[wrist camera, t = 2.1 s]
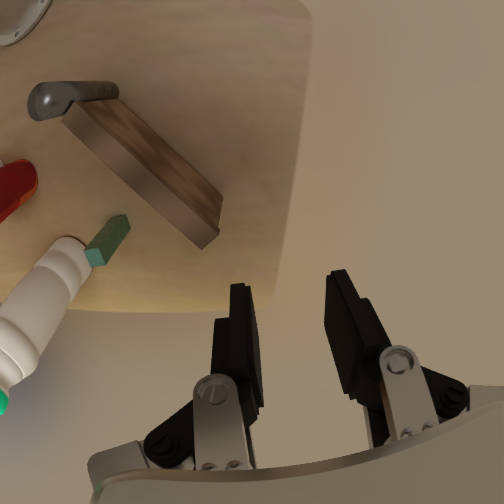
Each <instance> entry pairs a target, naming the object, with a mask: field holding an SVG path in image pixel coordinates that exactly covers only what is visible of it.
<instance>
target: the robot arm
mask: <svg viewBox="0 0 504 504" xmlns="http://www.w3.org/2000/svg"><path fill="white" fill-rule="evenodd" d="M50 3H51V0H0V46H8V45H12V44H14V43H16V42H18V41H19V40H21V39H22V38H23V37H24V36H26V35H27V34H28V33H29V32H30V31H31V30H32V29H33V28H34V27H35V25H36V24H37V23H38V21H39V20H40V19H41V17H42V16H43V14H44V13H45V12H46V10H47V8H48V6H49V4H50ZM324 327H325V331H326V334H327V337H328V341H329V344H330V347H331V351H332V354H333V358H334V361H335V364H336V368H337V371H338V375H339V378H340V382H341V385H342V389H343V392H344V394H349V398H350V400H353V399H357V402H358V403H359V404H361V405H363V411H364V417H365V423H366V429H367V436H368V442H369V450H366V451H362V452H359V453H355V454H351V455H347V456H342V457H338V458H333V459H328V460H323V461H318V462H312V463H306V464H300V465H293V466H285V467H276V468H266V469H258V468H257V462H256V457H255V451H254V446H253V439H252V434H251V428H250V426H251V425H252V424H253V423H254V422H255V421H256V420H257V415H259V407H264V401H263V388H262V376H261V362H260V348H259V336H258V329H257V323H256V317H255V311H254V305H253V299H252V293H251V287H250V286H245V283H238V284H231V286H230V313H229V317H228V318H220V319H219V318H218V319H215V323H214V334H213V347H212V359H211V373H210V375H208V376H205V377H204V378H202V379H201V380H199V381H198V382H197V384H196V385H195V387H194V391H193V400H191V401H190V402H189V403H188V404H187V405H185V406H184V407H183V408H181V409H180V410H179V411H178V412H176V413H175V414H174V415H172V416H171V417H170V418H169V419H167V420H166V421H164V422H163V423H162V424H160V425H159V426H158V427H156V428H155V429H154V430H153V431H151V432H150V433H149V434H148V435H147V436H146V438H145V440H142V441H139V442H138V441H137V440H135V441H132V442H130V443H127V444H124V445H121V446H118V447H114V448H112V449H108V450H105V451H102V452H98V453H96V454H94V455H92V456H91V457H90V459H89V461H88V464H87V466H88V473H89V476H90V480H91V483H92V487H93V490H94V491H93V494H92V497H91V501H90V504H504V386H483V385H470V386H469V387H466V386H465V385H464V384H463V383H461V382H460V381H458V380H455V379H452V378H450V377H448V376H445V375H442V374H440V373H437V372H435V371H432V370H430V369H427V368H425V367H422V366H420V363H419V361H418V358H417V356H416V355H415V353H414V352H413V351H412V350H411V349H409V348H407V347H405V346H401V345H396V346H392V344H391V342H390V340H389V338H388V336H387V334H386V332H385V330H384V328H383V326H382V324H381V322H380V320H379V318H378V316H377V314H376V312H375V310H374V308H373V306H372V304H371V302H370V301H369V299H367V298H362V299H360V297H359V295H358V293H357V291H356V289H355V287H354V285H353V283H352V281H351V280H350V277H349V275H348V274H347V272H346V270H345V269H343V270H336V271H331V275H327V277H326V299H325V316H324Z"/></svg>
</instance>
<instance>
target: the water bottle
mask: <svg viewBox="0 0 504 504" xmlns="http://www.w3.org/2000/svg"><path fill="white" fill-rule="evenodd" d="M84 249H85V246H84V245H83V244H82V243H81V242H79V241H78V240H76V239H74V238H71V237H61V238H59V239H58V240H56V241H55V242H54V243H53V244H52V245H51V247H50V248H49V249H48V251H47V252H46V253H45V254H44V255H43V256H42V257H41V258H40V259H39V260H38V261H37V262H36V263H35V265H34V266H33V268H32V270H31V271H30V272H28V273H27V274H26V275H25V276H24V277H23V278H22V280H21V281H20V282H19V283H18V284H17V285H16V287H15V288H14V289H13V290H12V291H11V293H10V294H9V295H8V297H7V298H6V299H5V301H4V302H3V304H2V305H1V307H0V415H2V414H3V413H4V412H5V410H6V407H7V405H8V398H9V393H8V391H9V389H10V387H11V386H13V385H15V384H17V383H19V382H20V381H21V380H22V379H23V378H25V377H27V376H28V375H30V374H31V373H32V372H34V370H35V369H36V367H37V365H38V360H39V357H40V355H41V354H42V352H43V351H44V349H45V348H46V346H47V344H48V343H49V341H50V339H51V337H52V336H53V334H54V332H55V330H56V328H57V327H58V325H59V323H60V321H61V319H62V317H63V315H64V314H65V311H66V309H67V307H68V305H69V304H70V303H71V302H72V301H73V299H74V298H75V297H76V295H77V293H78V291H79V289H80V287H81V286H82V285H83V284H84V282H85V281H86V280H87V278H88V277H89V275H90V273H91V271H92V267H90V265H89V263H88V261H87V258H86V256H85V254H84V251H83V250H84Z"/></svg>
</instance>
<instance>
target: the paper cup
mask: <svg viewBox="0 0 504 504" xmlns="http://www.w3.org/2000/svg"><path fill="white" fill-rule="evenodd" d="M37 183H38V179H37V173H36V170H35V168H34V166H33V165H32V164H31V163H30V162H29V161H27V160H24V159H22V160H18V161H15V162H12V163H9V164H7V165H4V166H2V167H0V223H1V222H2V221H4V220H5V219H6V218H7V217H8V216H9V215H10V214H11V213H12V212H14V211H15V210H16V209H17V208H18V207H19V206H21V205H22V204H23V203H24V202H25V201H26V200H28V199H29V198H30V197H31V196H32V195H33V194H34V193H35V191H36V188H37Z"/></svg>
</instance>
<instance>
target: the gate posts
mask: <svg viewBox="0 0 504 504" xmlns="http://www.w3.org/2000/svg"><path fill="white" fill-rule="evenodd" d="M118 96H119V90H118V87H117V85H116V84H115V83H113V82H103V81H60V82H43V83H39V84H38V85H36V86H35V87H34V88H33V90H32V91H31V93H30V95H29V98H28V103H27V108H28V113H29V115H30V117H31V118H32V119H33V120H35V121H42V120H46V119H50V118H54V117H58V116H63V115H66V113H67V112H68V110H69V109H70V107H71V106H72V104H73V103H74V101H82V102H90V101H99V100H110V99H118ZM129 230H130V226H129V223H128V220H127V217H126V214H125V215H120V216H115V217H112V218H111V219H110V220H109V221H108V222H107V223H106V224H105V226H104V227H103V228H102V229H101V230H100V231H99V232H98V234H97V235H96V236H95V237H94V238H93V239H92V241H91V242H90V243H89V244H88V245H87V247H86V248H85V249H84V250H83V251H84V254H85V256H86V258H87V261H88V263H89V265H90V267H96V266H103V265H106V264H107V262H108V261H109V259H110V258H111V256H112V255H113V253H114V252H115V250H116V249H117V247H118V246H119V244H120V243H121V242H122V240H123V239H124V237H125V236H126V234H127V233H128V232H129Z"/></svg>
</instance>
